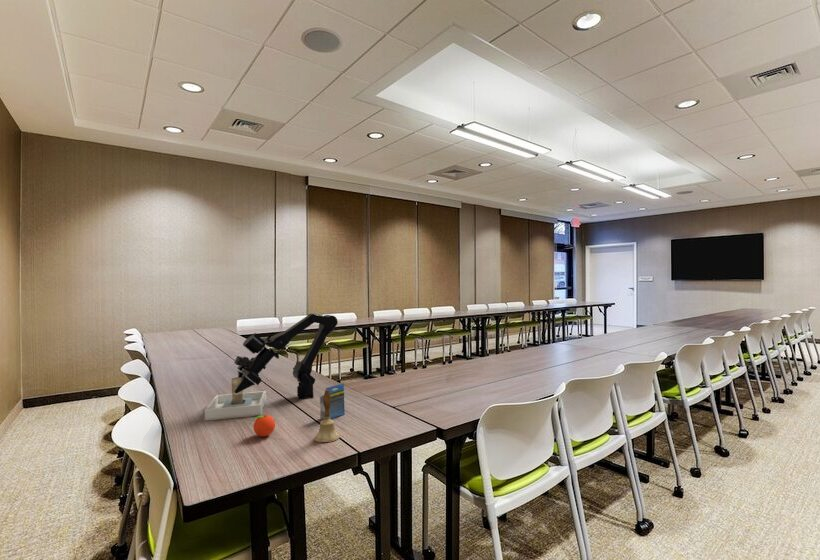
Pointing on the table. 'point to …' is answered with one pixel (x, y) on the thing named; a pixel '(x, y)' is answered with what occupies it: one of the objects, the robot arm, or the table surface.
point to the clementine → (264, 425)
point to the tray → (237, 410)
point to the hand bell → (327, 423)
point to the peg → (238, 397)
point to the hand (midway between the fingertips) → (233, 391)
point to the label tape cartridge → (334, 402)
